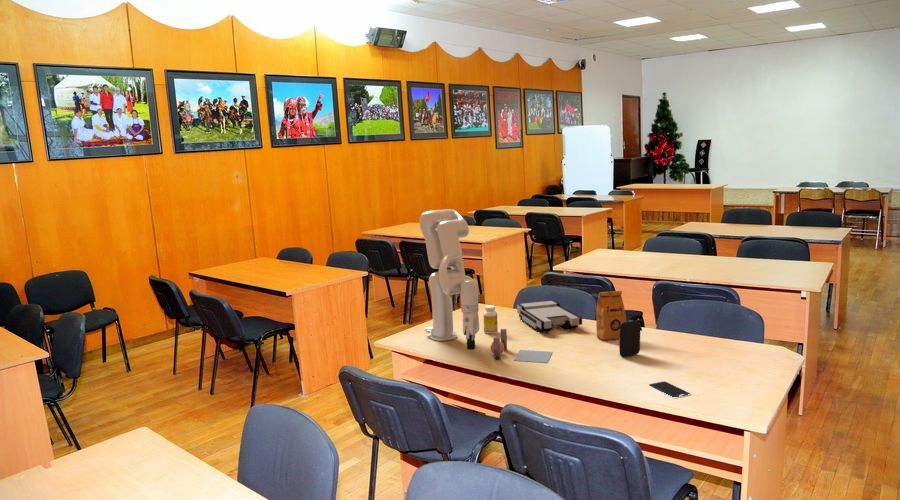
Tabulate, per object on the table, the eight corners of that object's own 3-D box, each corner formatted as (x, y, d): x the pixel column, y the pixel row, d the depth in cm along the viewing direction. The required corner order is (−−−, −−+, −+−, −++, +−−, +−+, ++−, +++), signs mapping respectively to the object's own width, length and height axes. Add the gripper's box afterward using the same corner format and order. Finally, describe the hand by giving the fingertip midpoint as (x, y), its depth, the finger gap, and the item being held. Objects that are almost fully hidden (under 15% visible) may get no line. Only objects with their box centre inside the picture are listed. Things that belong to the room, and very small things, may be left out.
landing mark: (513, 360, 251) (513, 360, 251) (520, 350, 264) (520, 349, 264) (547, 363, 247) (547, 362, 247) (552, 352, 260) (552, 351, 260)
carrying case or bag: (639, 352, 255) (639, 318, 253) (643, 354, 252) (644, 320, 250) (617, 356, 251) (617, 321, 249) (622, 358, 249) (622, 323, 246)
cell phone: (674, 399, 207) (674, 397, 207) (648, 386, 220) (648, 384, 220) (692, 396, 210) (692, 394, 209) (664, 382, 222) (664, 380, 222)
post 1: (493, 360, 253) (492, 339, 251) (494, 358, 255) (494, 337, 254) (499, 360, 252) (498, 339, 251) (500, 358, 254) (500, 337, 253)
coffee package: (628, 340, 272) (629, 292, 269) (601, 342, 271) (601, 294, 268) (620, 334, 282) (620, 287, 278) (594, 336, 281) (594, 289, 277)
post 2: (500, 350, 265) (499, 330, 264) (501, 348, 267) (501, 328, 266) (506, 350, 264) (505, 330, 263) (507, 348, 267) (507, 328, 265)
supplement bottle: (496, 334, 289) (496, 308, 287) (482, 334, 290) (482, 308, 288) (498, 330, 295) (497, 304, 293) (484, 330, 296) (484, 304, 294)
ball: (502, 357, 256) (488, 356, 258) (506, 353, 261) (492, 352, 263) (502, 343, 255) (488, 342, 257) (505, 339, 261) (492, 338, 263)
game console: (541, 336, 284) (541, 319, 283) (517, 319, 315) (517, 304, 314) (582, 332, 289) (582, 315, 288) (554, 315, 320) (554, 300, 319)
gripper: (473, 312, 252) (474, 355, 255) (482, 304, 267) (483, 344, 269) (456, 311, 255) (457, 354, 258) (466, 303, 269) (467, 343, 272)
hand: (471, 349), depth 263 cm, fingers closed
